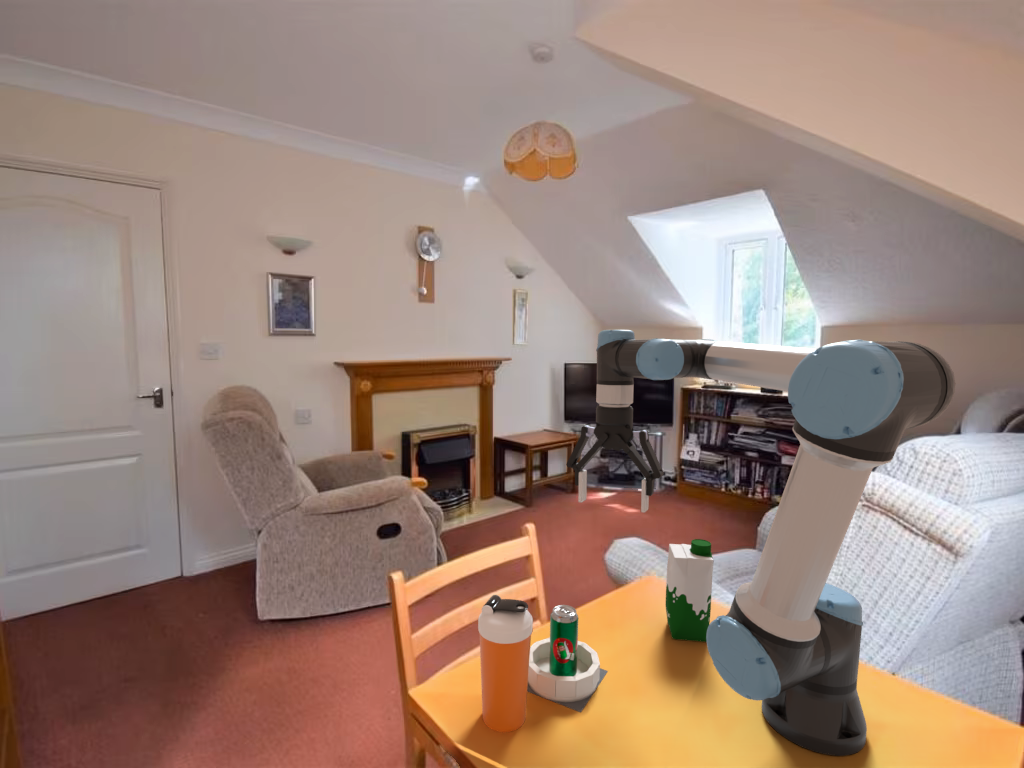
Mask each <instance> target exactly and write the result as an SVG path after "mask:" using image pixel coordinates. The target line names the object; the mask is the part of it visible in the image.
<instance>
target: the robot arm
mask: <svg viewBox="0 0 1024 768" xmlns="http://www.w3.org/2000/svg"><path fill="white" fill-rule="evenodd" d="M596 344H597V346H596V394H595V395H596V396H595V397H596V398H595V399H596V401H595V402H596V403H597V405H596V407H595V409H596V410H595V427H594V426H591V425H590V424H586V425H583V426H582V427H580V428H581V430H580V436H579V438H578V440H577V442H576V444H575V446H574V448H573V450H572V452H571V454H570V456H569V458H568V460H567V462H566V466H567V468H570V469H573V471H574V484H575V485H574V486H578V497H577V498H578V502H577V503H583V502H585V501H587V496H588V495H587V484H588V481H587V480H588V470H587V469H585V467H586V466H587V464H589V463H590V461H591V460H592V459H593V458H594V457H595V456H596V454H597V453H598V452H599V451H601V449H605V450H614V451H617V452H620V451H623V452H624V454H627V456H628V457H629V459H630V460H631V461H632V462H633V463H634V465H635V466H636V467H637V469H638V471H639V472H640V473H641V474H642V475H643V477H644V478H643V479H642V480H641V499H640V501H641V502H640V503H641V504H640V506H641V507H640V512H641V513H644V514H645V513H646V512H647V511H649V506H650V505H649V503H650V502H649V501H650V499H649V498H650V497H652V496H653V494H654V493H655V480H657V479H660V478H662V477H663V476H664V474H665V472H664V470H663V469H662V466H661V463H660V462H659V460H658V459H659V458H658V457H657V454H656V453H655V451H654V449H653V446H652V443H651V442H650V437H649V431H648V430H647V429H643V430H635V429H634V426H633V425H634V408H633V406H631V405H632V404H633V403H634V384H635V381H634V378H636V379H637V378H638V379H645V380H646V379H648V380H652V381H664V380H665V381H668V380H672V379H681V378H695V379H697V378H698V379H703V380H705V379H706V380H713V381H720V382H725V383H731V384H732V383H734V384H740V385H743V386H745V385H746V386H751V387H752V386H753V387H756V388H757V387H758V388H764V389H770V390H777V391H782V392H787V399H788V403H789V404H790V405H791V408H792V409H791V413H792V416H793V417H794V418H795V420H794V422H793V425H792V432H793V434H794V435H795V437H796V439H797V440H798V441H799V444H800V445H799V447H798V449H797V453H796V455H795V459H794V462H793V464H792V467H791V470H790V472H789V476H788V477H787V478H788V479H787V481H786V484H785V487H784V490H783V493H782V494H781V497H780V501H779V504H778V506H777V509H776V513H775V515H774V519H773V521H772V523H771V526H770V528H769V529H770V530H769V532H768V535H767V538H766V540H765V543H764V545H763V549H762V552H761V554H760V557H759V561H758V563H757V565H756V569H755V572H754V574H753V578H752V580H751V581H749V582H745V583H742V584H740V585H739V586H738V588H737V590H736V591H735V594H734V597H733V600H732V602H731V606H730V608H729V611H728V612H727V614H725V615H718V616H716V618H715V619H713V620H712V621H710V623H709V626H708V629H707V635H706V640H707V642H706V646H707V647H706V648H707V651H708V654H709V656H710V658H711V660H712V664H713V666H714V668H715V669H716V671H717V673H718V674H719V675H720V677H721V679H722V680H723V681H724V683H726V684H727V686H729V688H730V689H732V690H733V691H734V692H736V694H737V695H739V696H740V697H741V696H742V698H745V699H748V700H753V701H761V711H762V715H763V716H764V718H765V720H766V722H768V724H769V725H770V726H771V727H772V728H773V729H774V730H775V731H776V732H778V734H780V735H781V736H782V737H784V738H785V739H787V740H789V741H790V742H791V743H793V744H795V745H797V746H800V747H802V748H805V749H807V750H810V751H812V752H815V753H818V754H823V755H830V756H839V757H840V756H842V757H843V756H850V755H854V754H856V753H859V752H860V751H861V750H863V748H864V747H865V745H866V741H867V733H868V732H867V731H868V730H867V721H866V718H865V714H864V710H863V707H862V704H861V700H860V696H859V693H858V690H857V689H858V686H857V685H858V675H859V665H860V652H861V642H862V641H861V640H862V629H863V626H864V621H863V607H862V603H860V601H859V600H858V599H857V598H856V597H855V596H854V595H853V594H851V593H850V592H848V591H846V590H844V589H843V588H840V587H837V586H836V585H833V584H830V583H828V582H827V581H828V578H829V576H830V573H831V571H832V570H833V569H832V568H833V566H834V564H835V562H836V558H837V556H838V554H839V552H840V550H841V547H842V544H843V542H844V540H845V537H846V535H847V533H848V530H849V527H850V525H851V522H852V519H853V518H854V515H855V512H856V510H857V508H858V505H859V503H860V500H861V497H862V495H863V493H864V490H865V488H866V485H867V483H868V481H869V478H870V476H871V474H872V471H873V470H874V468H876V467H879V466H883V465H886V464H889V463H891V462H892V460H893V459H894V457H895V454H896V451H897V449H898V447H899V444H900V441H901V440H902V437H903V435H904V433H905V430H908V429H913V428H918V427H922V426H924V425H926V424H929V423H931V422H933V421H935V420H937V419H938V418H940V417H941V416H942V415H943V414H944V412H945V411H947V410H948V409H949V406H950V405H951V403H952V402H953V399H954V396H955V392H956V378H955V374H954V370H953V369H952V367H951V365H950V364H949V362H948V361H947V360H946V359H945V357H944V356H943V355H941V354H940V353H939V352H937V351H936V350H934V349H933V348H930V347H928V346H926V345H924V344H921V343H917V342H912V341H898V340H897V341H879V340H877V341H876V340H865V339H864V340H863V339H850V340H849V339H848V340H842V341H839V342H833V343H829V344H825V345H823V346H820V347H818V348H813V347H799V346H788V345H787V346H786V345H773V344H761V343H760V344H759V343H749V342H747V343H746V342H735V341H734V342H733V341H720V340H715V339H710V338H709V339H708V338H707V339H668V338H667V339H666V338H648V339H646V338H644V339H636V338H635V331H633V330H630V329H604V330H601V331H599V333H598V335H597V343H596ZM593 434H594V436H595V438H596V439H597V440H596V442H595V443H594V444H593V445H592V447H591V448H590V449H589V450H588V451H587V452H586V454H585V455H583V457H582V458H581V459H580V460H579V458H580V457H581V454H582V452H583V450H584V449H585V447H586V445H587V443H588V441H589V439H590V438H591V436H593ZM634 438H636V440H637V441H638V442H639V444H640V447H641V449H642V451H643V453H644V456H645V458H646V460H647V462H648V464H649V465H648V464H647V462H646V461H645V460H644V458H643V457H642V455H641V454H640V453H639V451H638V450H637V448H636V446H635V445H634V444H633V442H632V440H633V439H634ZM578 460H579V461H578Z"/></svg>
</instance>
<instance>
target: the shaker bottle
mask: <svg viewBox="0 0 1024 768" xmlns="http://www.w3.org/2000/svg"><path fill="white" fill-rule="evenodd" d="M528 609H529V604H528V603H527V602H526V601H525V600H519V599H511V598H501V596H500V595H499V594H493V595H491V596H490V598H489V599H488V600H487V601H486V602H485V604H484V605H483V606H482V607H481V612H480V613H479V616H478V618H477V619H478V620H477V622H478V625H477V630H478V631H477V632H478V634H479V651H480V652H479V653H480V678H481V679H480V680H481V704H482V705H481V706H482V707H481V708H482V709H481V710H482V720H483V723H484V724H485V726H486V727H488V729H491V730H492V731H494V732H498V733H499V732H500V733H508V732H509V733H510V732H514V731H517V730H518V729H520V728H521V727H522V726H523V725H524V724H525V721H526V716H527V715H526V714H527V713H526V712H527V701H528V700H527V698H528V692H527V686H528V671H529V657H530V647H531V641H532V640H531V639H532V635H533V629H534V628H533V627H534V626H533V624H534V619H533V616H532V614H531V613H530V612H529V610H528Z"/></svg>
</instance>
